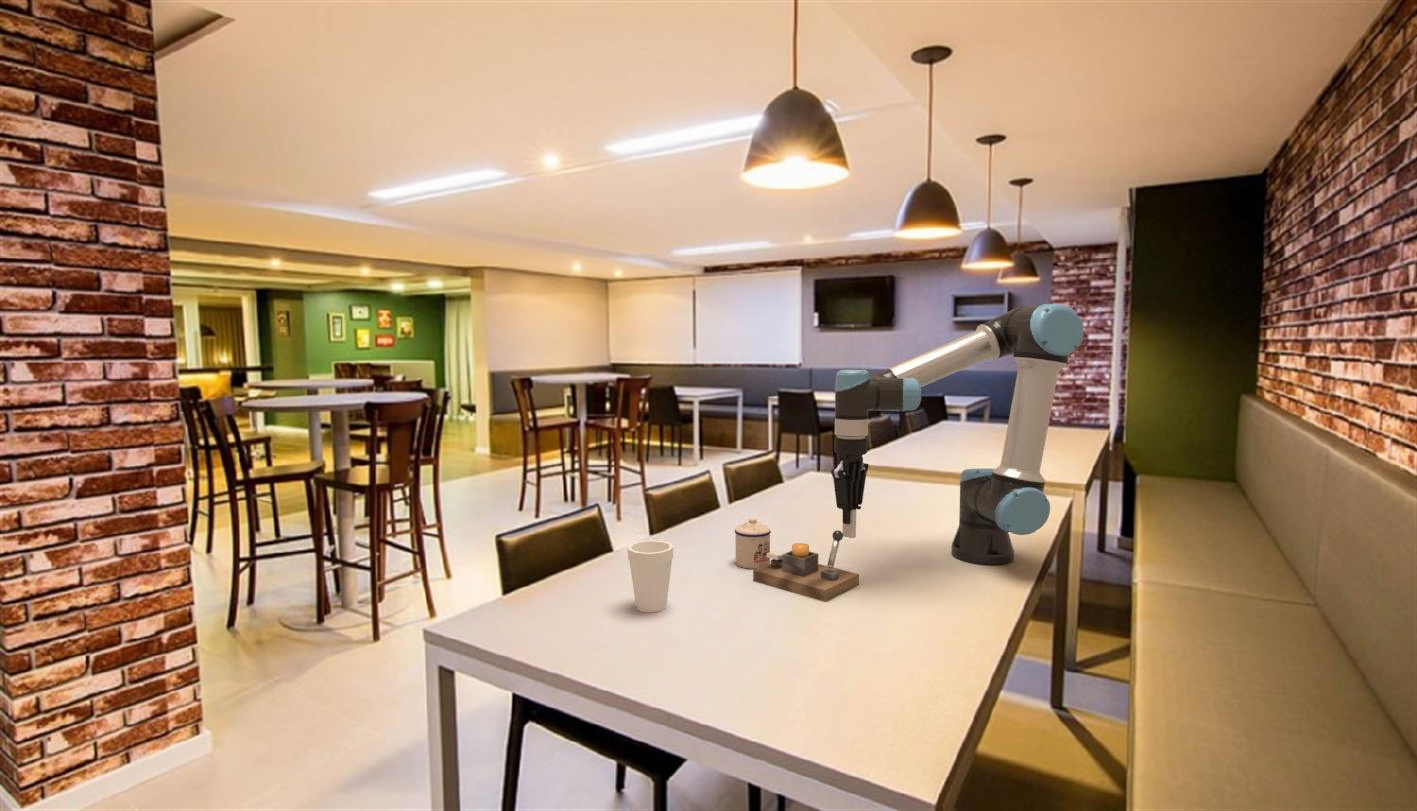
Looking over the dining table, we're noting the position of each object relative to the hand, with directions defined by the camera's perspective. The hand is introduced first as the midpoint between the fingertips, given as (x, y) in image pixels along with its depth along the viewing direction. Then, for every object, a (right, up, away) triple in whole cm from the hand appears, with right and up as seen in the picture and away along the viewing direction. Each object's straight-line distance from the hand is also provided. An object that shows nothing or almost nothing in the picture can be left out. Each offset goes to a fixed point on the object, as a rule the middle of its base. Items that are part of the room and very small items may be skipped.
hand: (849, 536), depth 161 cm
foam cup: (-45, -12, -15) cm, 49 cm away
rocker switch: (-16, -6, +4) cm, 17 cm away
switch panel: (-10, -11, -1) cm, 15 cm away
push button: (-11, -5, 0) cm, 12 cm away
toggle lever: (-6, -6, -6) cm, 10 cm away
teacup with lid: (-21, -9, +14) cm, 27 cm away
